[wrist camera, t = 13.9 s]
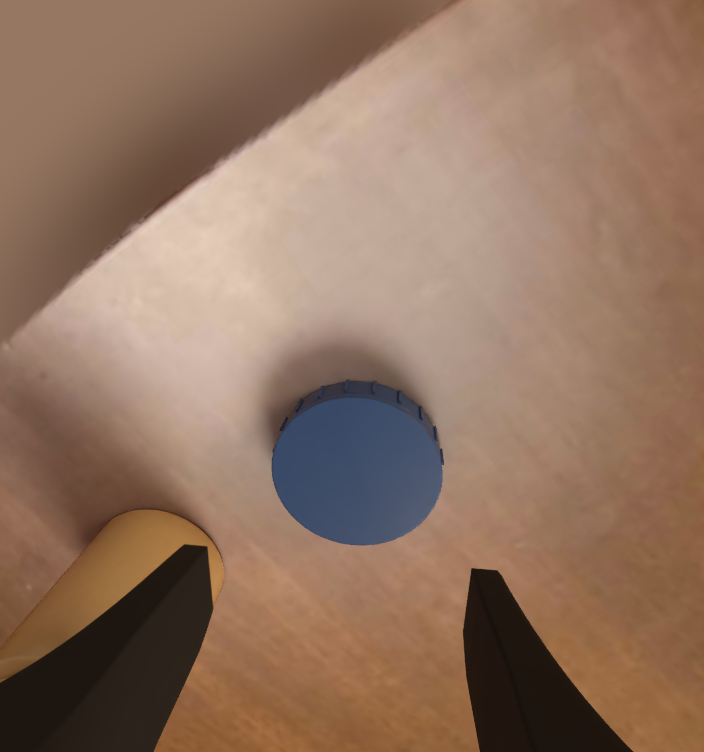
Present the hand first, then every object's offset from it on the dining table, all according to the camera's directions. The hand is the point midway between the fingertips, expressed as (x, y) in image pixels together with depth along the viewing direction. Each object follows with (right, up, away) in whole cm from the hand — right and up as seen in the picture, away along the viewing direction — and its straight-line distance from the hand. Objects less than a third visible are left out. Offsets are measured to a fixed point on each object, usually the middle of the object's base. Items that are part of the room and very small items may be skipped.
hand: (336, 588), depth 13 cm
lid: (+1, +2, +5) cm, 6 cm away
